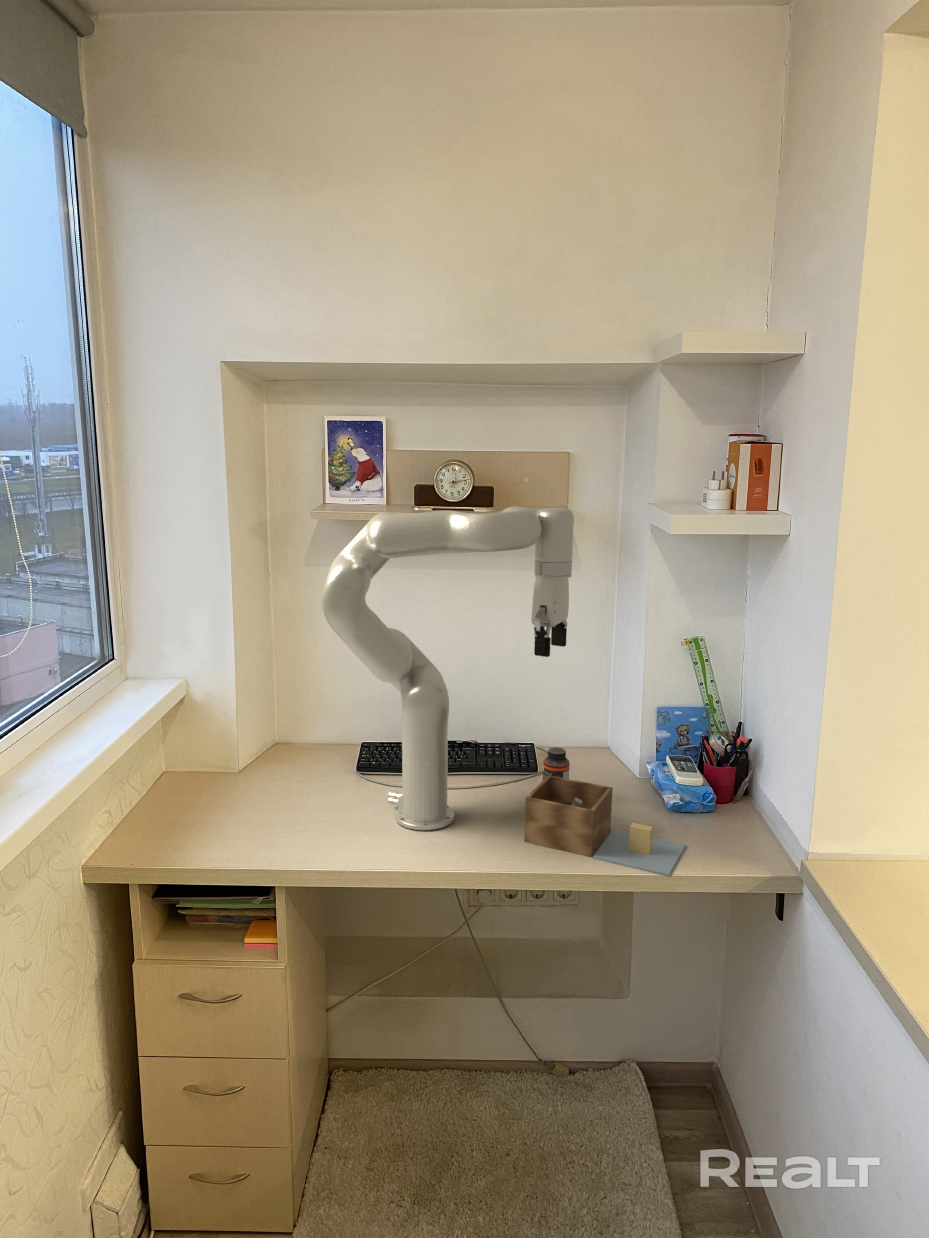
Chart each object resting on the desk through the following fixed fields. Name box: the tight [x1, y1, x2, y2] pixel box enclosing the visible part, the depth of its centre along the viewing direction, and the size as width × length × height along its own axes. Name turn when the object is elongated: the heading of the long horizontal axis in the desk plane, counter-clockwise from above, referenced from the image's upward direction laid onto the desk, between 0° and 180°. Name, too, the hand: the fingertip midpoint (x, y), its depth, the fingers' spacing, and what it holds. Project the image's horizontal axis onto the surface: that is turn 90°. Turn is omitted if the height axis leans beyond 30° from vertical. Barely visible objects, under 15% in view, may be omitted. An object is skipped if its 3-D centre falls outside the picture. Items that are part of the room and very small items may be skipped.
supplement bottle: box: [541, 746, 571, 782], centre depth 194 cm, size 6×6×11 cm
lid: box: [592, 822, 687, 877], centre depth 169 cm, size 15×14×6 cm
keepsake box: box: [523, 775, 613, 858], centre depth 175 cm, size 14×13×10 cm
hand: (550, 650), depth 179 cm, fingers open, 9 cm apart
